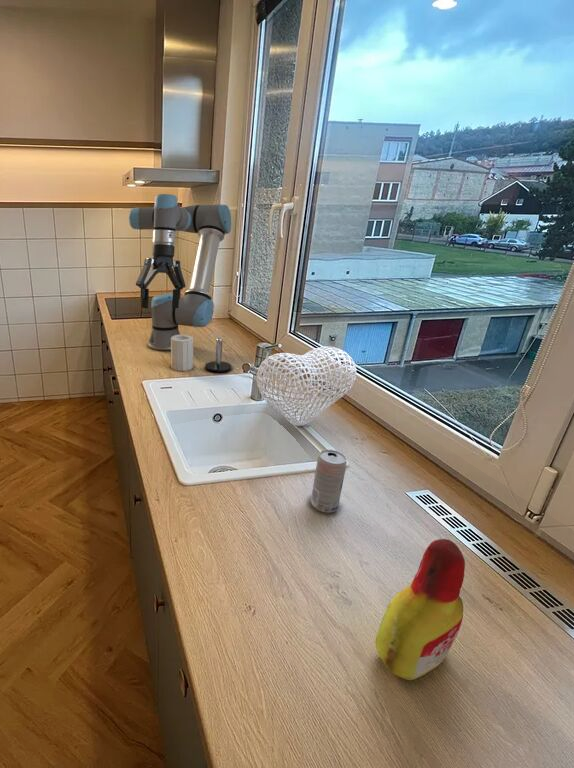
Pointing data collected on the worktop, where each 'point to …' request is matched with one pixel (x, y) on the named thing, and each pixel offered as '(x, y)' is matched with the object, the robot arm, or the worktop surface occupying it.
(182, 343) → the paper towel roll
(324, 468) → the energy drink
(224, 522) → the worktop surface
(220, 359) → the towel stand
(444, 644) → the bottle
